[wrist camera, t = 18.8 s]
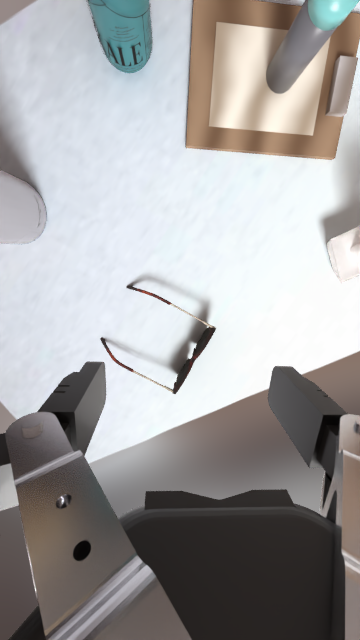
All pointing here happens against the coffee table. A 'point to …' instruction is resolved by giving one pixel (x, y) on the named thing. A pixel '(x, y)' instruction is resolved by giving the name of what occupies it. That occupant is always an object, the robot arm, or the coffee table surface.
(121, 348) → the coffee table surface
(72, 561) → the robot arm
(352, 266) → the figurine
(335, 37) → the clipboard
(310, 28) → the grey capped container
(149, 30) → the beverage bottle
